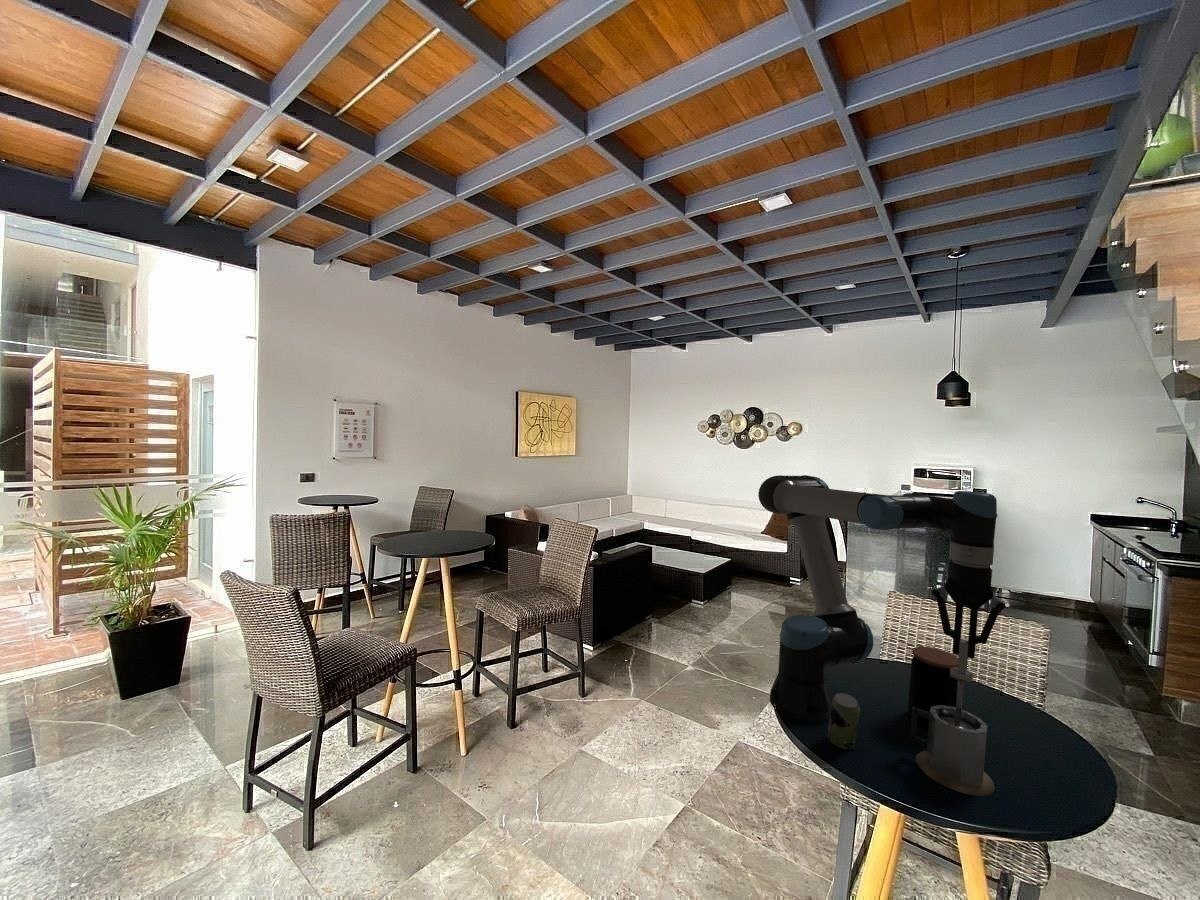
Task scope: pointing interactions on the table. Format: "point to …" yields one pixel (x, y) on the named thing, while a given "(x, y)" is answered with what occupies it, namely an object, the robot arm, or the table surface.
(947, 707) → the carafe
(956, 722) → the plunger
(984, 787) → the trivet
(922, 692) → the coffee jar
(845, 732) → the beverage can
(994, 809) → the table surface
